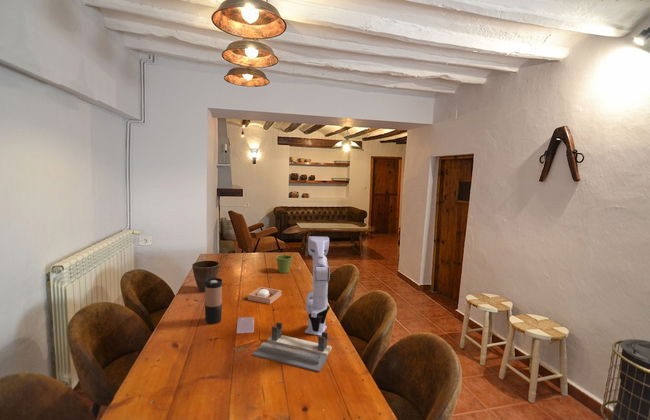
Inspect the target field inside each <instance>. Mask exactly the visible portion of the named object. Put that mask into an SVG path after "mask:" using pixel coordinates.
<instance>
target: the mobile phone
mask: <svg viewBox="0 0 650 420" xmlns="http://www.w3.org/2000/svg"><path fill="white" fill-rule="evenodd" d="M254 319H255V318H254V317H253V316H249V317H247V316H246V317H245V316H243V317H238V318H237V327H236V334H250V333H254V332H255V330H254V329H255V327H254V326H255V324H254V323H255V321H254Z"/></svg>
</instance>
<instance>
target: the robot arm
mask: <svg viewBox="0 0 650 420" xmlns="http://www.w3.org/2000/svg"><path fill="white" fill-rule="evenodd" d="M329 247H330V238H329V236H315V235H314V236H313V235H312V236H311V235H309V236H308V239H307V252H308V255H310V256H311V258H312V290H311V291H310V292H308V293H307V295H306V300H305V311H306V312H307V313H308V315H307V316H308V317H307V318H308V320H307V328H306V329H305V330H304V333H305V334H311V335H315V336H318V337H319V336H321V337H322V332H325V331H326V329H327V328H328V326H327V325H326V318H327V314H328V312H329V310H330V307H331V306H329V301H328V292H329V291H328V290H329V289H328V288H329V281H330V276H331V272H330V271H331V269H330V266H329V264H328V258H327V255H328V253H329V250H330V249H329Z"/></svg>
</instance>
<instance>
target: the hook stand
mask: <svg viewBox="0 0 650 420" xmlns="http://www.w3.org/2000/svg"><path fill="white" fill-rule="evenodd" d="M282 331H283V323H282V322H278V321H277V322H276V324H275V326H274V325H273V326H271V335H270V336H269V337H268V338H267V339H266V342H268V343H272V344H276V345H281V346H285V347H289V348H293V349H298V350H302V351H306V352H310V353H315V354H319V355H323V356H327V357H328V356H329V354H330V352H331V350H332V348H333V347H332V346H331V345H328V340H329V339H328V337H329V336H328V335H329V332H327V331H326V332H325V331H324V332H322V335H321V336H319V335H318V341H317V342H314V341H310V340H305V339H302V338H301V339H300V338H297V337H292V336H289V335H288V336H287V335H283V334H282Z"/></svg>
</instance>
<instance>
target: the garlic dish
mask: <svg viewBox="0 0 650 420" xmlns="http://www.w3.org/2000/svg"><path fill="white" fill-rule="evenodd" d="M261 289H267V290H268V291H269V294H270V295H272V296H270V297H262V296H257V293H258V292H259V291H260V290H261ZM282 293H283V292H282V290H280V289H275V288H269V287H264V286H260V287H258V288H256V289H254V290H253V291H252V292H250V293H248V294H247V301H251V302H258V303H261V304H262V303H263V304H268V305H271V304H273V302H275V301H276V300H277V299H279V298H280V297H282Z"/></svg>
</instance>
